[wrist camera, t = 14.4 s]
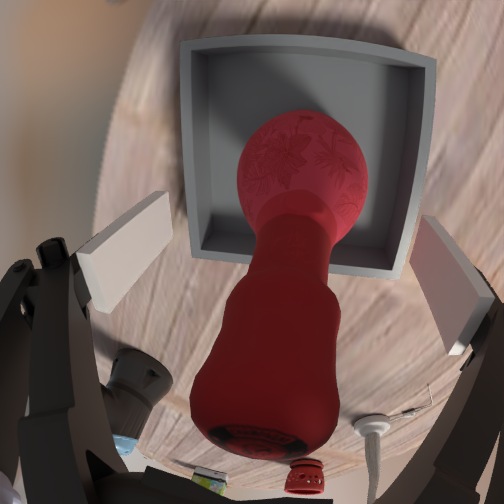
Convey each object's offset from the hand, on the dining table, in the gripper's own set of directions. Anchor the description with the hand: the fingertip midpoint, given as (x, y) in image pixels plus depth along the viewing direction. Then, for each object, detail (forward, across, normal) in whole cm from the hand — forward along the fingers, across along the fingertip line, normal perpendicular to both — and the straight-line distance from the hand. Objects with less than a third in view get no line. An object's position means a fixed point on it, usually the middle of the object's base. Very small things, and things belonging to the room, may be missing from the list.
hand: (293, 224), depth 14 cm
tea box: (+22, +24, +136) cm, 139 cm away
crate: (+20, 0, 0) cm, 20 cm away
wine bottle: (+19, 0, 0) cm, 19 cm away
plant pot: (+21, -14, +96) cm, 99 cm away
